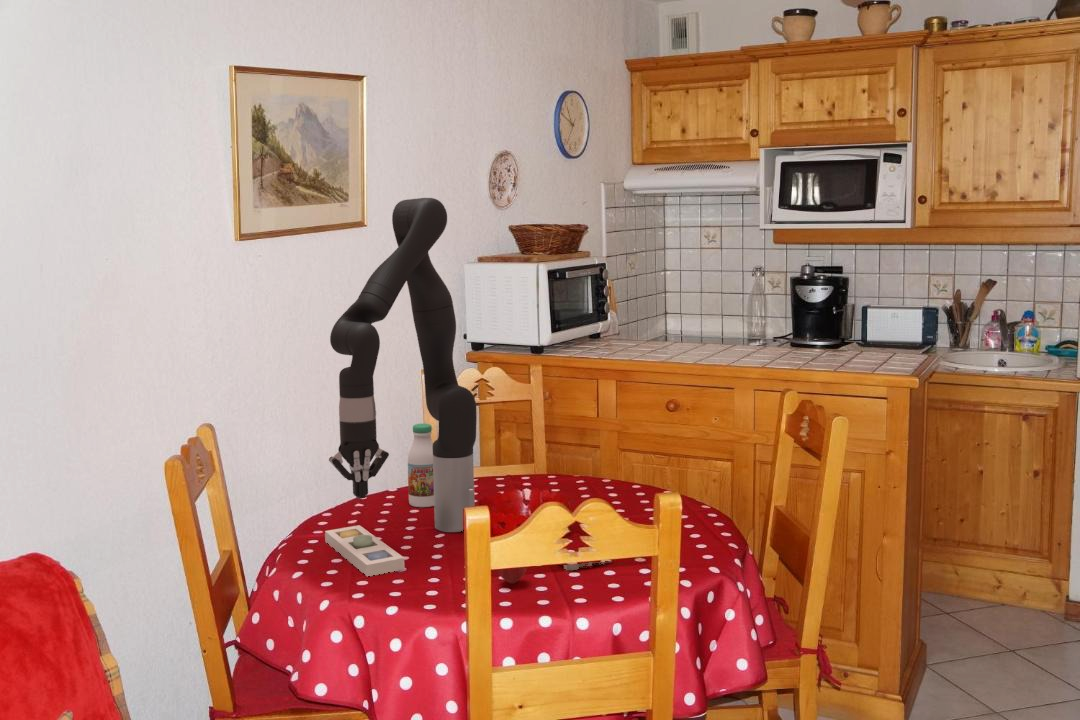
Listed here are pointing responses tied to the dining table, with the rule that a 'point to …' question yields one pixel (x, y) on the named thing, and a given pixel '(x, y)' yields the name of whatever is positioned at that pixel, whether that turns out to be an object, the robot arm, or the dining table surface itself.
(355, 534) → the ochre button
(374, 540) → the button panel
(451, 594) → the dining table surface
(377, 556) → the blue button
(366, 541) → the sage button
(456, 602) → the dining table surface
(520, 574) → the onion
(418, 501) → the milk bottle
